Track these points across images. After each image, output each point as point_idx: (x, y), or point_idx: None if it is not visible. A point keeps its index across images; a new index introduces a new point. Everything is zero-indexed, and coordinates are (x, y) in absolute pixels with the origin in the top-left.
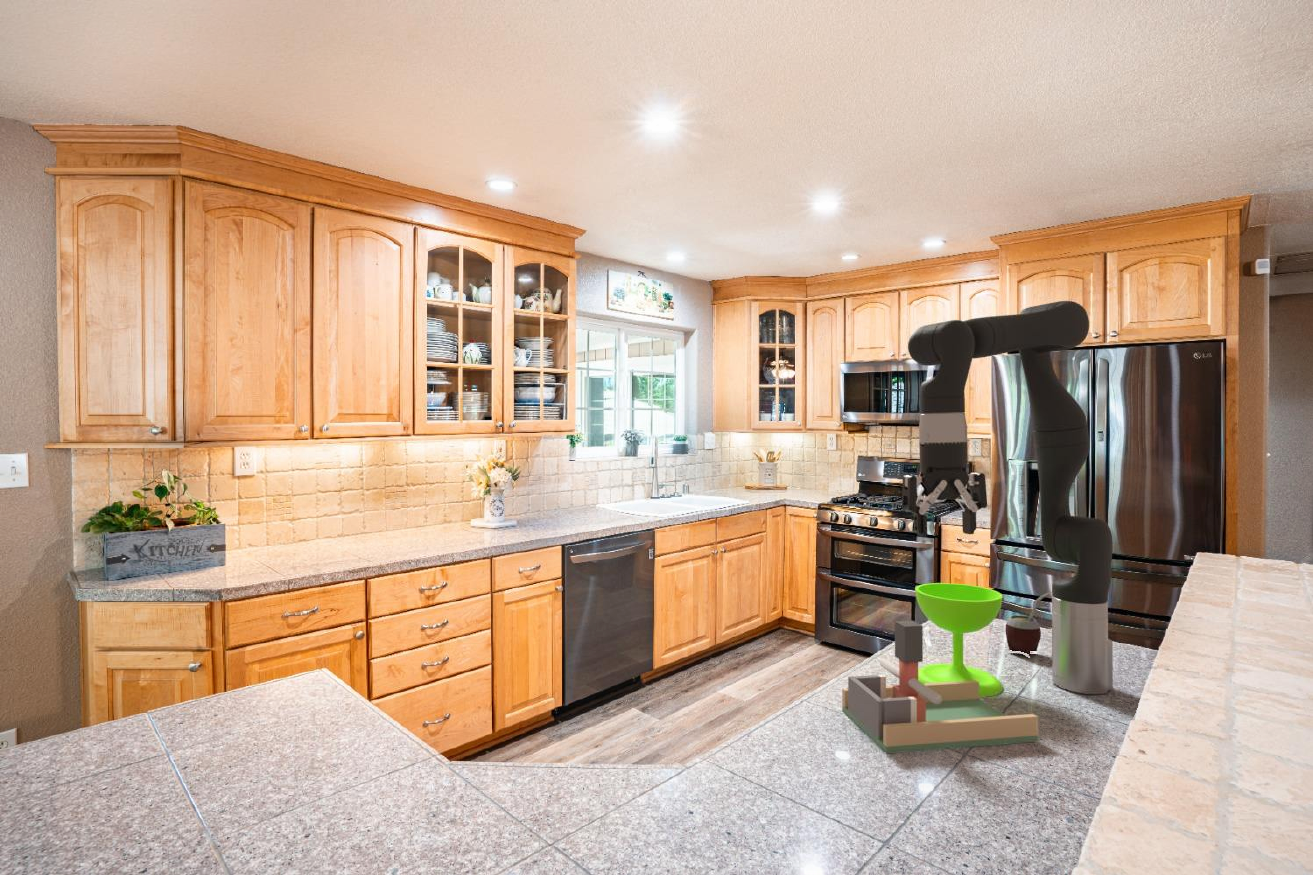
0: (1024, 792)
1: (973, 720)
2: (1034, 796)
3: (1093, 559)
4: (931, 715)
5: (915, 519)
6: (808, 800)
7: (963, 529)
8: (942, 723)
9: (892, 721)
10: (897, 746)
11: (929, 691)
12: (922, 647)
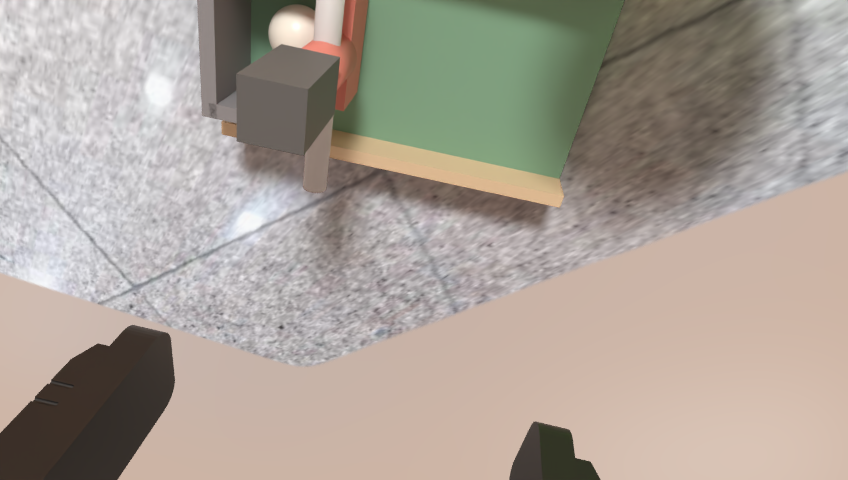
0: (378, 279)
1: (416, 173)
2: (383, 289)
3: None
4: (423, 33)
5: (9, 451)
6: (62, 188)
7: (533, 445)
8: (344, 160)
9: None
10: None
11: (307, 170)
12: (323, 128)
